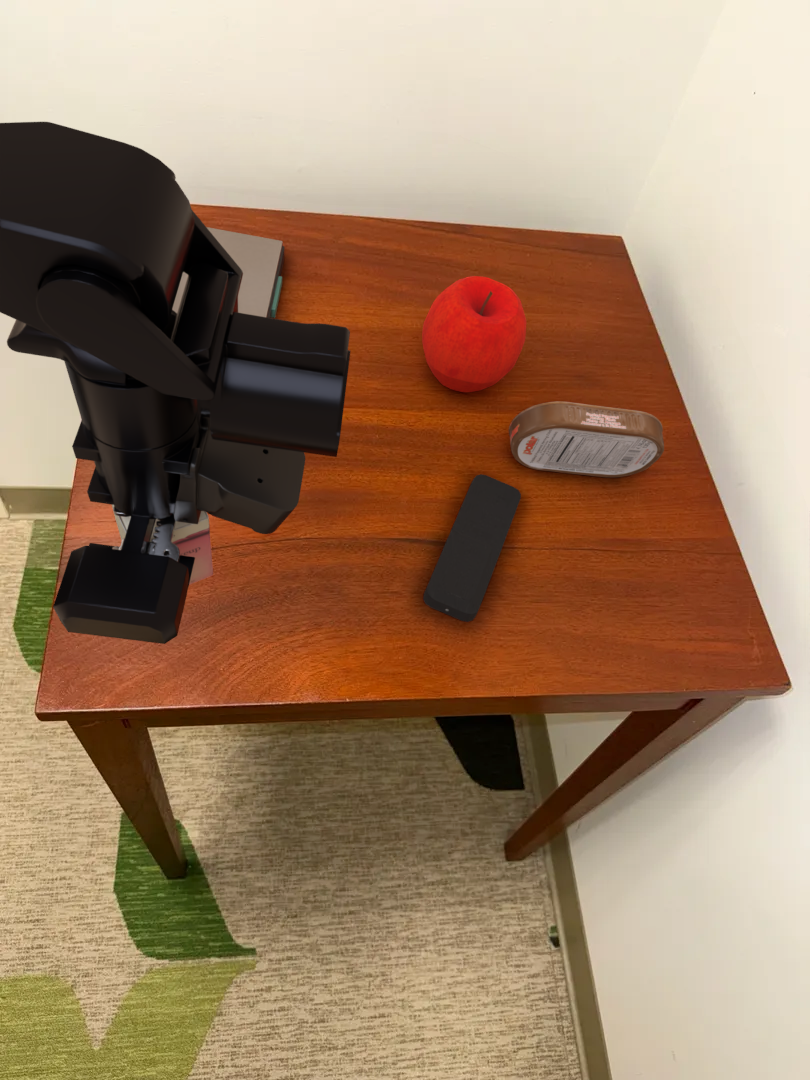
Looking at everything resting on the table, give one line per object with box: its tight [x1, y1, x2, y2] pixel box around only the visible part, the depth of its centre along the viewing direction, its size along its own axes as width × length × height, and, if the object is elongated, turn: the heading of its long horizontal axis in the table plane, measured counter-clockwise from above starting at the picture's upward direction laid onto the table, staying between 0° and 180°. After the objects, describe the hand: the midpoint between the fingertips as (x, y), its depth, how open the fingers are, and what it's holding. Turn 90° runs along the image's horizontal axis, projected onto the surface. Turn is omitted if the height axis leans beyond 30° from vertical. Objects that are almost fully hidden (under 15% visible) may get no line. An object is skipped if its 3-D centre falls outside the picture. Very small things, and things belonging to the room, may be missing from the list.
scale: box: [172, 226, 285, 319], centre depth 79 cm, size 11×14×3 cm
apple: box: [421, 275, 528, 393], centre depth 75 cm, size 10×10×12 cm
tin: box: [508, 400, 665, 479], centre depth 73 cm, size 15×3×8 cm, turn 90°
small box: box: [111, 505, 214, 586], centre depth 50 cm, size 5×4×8 cm
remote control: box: [422, 474, 522, 623], centre depth 70 cm, size 5×2×15 cm
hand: (167, 553), depth 52 cm, fingers closed on small box, 6 cm apart
